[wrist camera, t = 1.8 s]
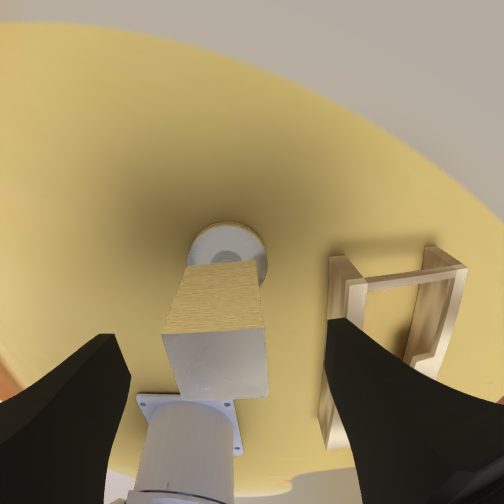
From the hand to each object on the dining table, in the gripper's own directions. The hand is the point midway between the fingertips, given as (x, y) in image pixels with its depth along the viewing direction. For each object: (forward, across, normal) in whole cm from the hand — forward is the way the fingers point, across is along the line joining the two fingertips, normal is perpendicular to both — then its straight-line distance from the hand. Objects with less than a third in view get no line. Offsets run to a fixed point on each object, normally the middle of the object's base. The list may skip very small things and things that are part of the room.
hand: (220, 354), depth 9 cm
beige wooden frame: (+9, -10, +8) cm, 15 cm away
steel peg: (+9, 0, 0) cm, 9 cm away
